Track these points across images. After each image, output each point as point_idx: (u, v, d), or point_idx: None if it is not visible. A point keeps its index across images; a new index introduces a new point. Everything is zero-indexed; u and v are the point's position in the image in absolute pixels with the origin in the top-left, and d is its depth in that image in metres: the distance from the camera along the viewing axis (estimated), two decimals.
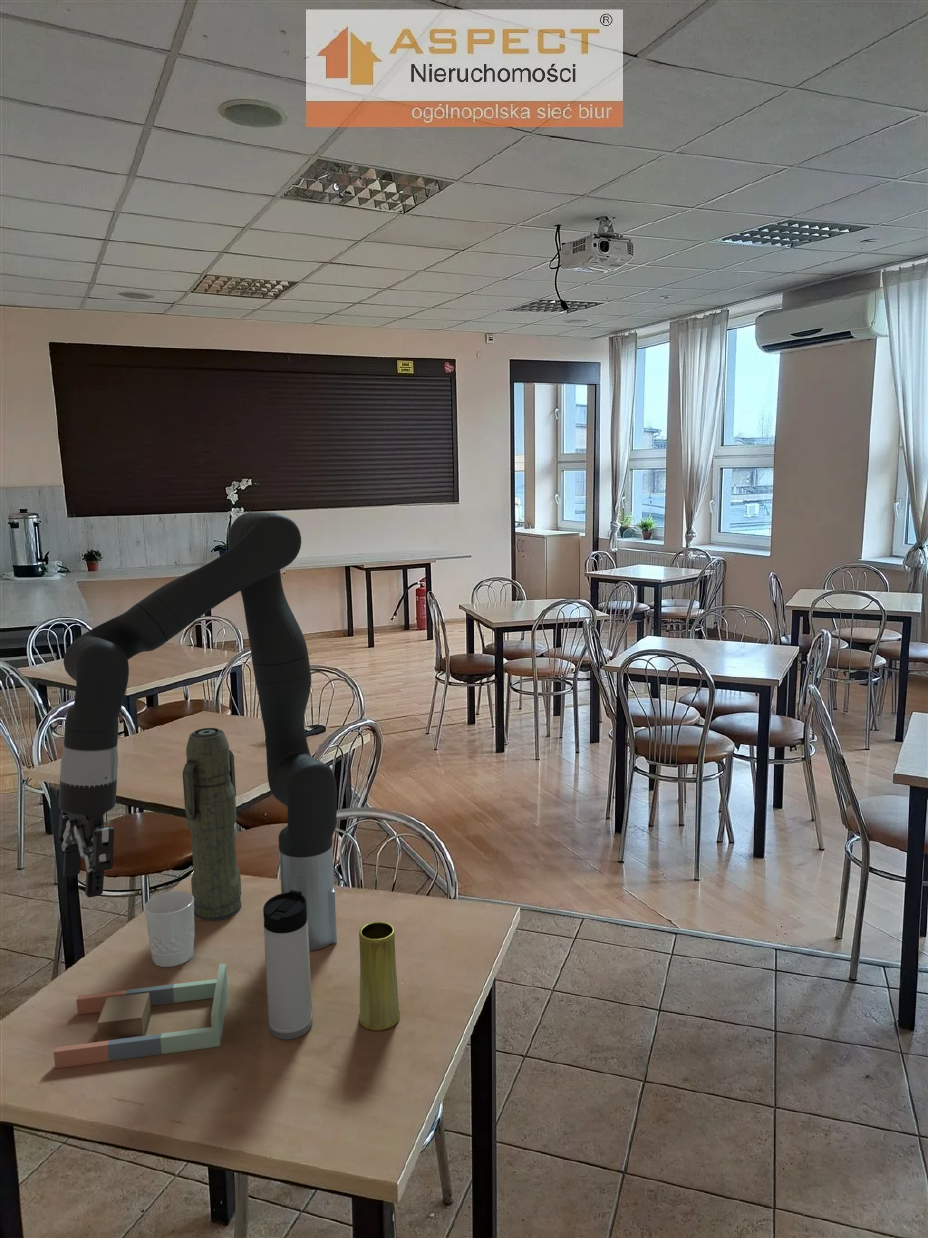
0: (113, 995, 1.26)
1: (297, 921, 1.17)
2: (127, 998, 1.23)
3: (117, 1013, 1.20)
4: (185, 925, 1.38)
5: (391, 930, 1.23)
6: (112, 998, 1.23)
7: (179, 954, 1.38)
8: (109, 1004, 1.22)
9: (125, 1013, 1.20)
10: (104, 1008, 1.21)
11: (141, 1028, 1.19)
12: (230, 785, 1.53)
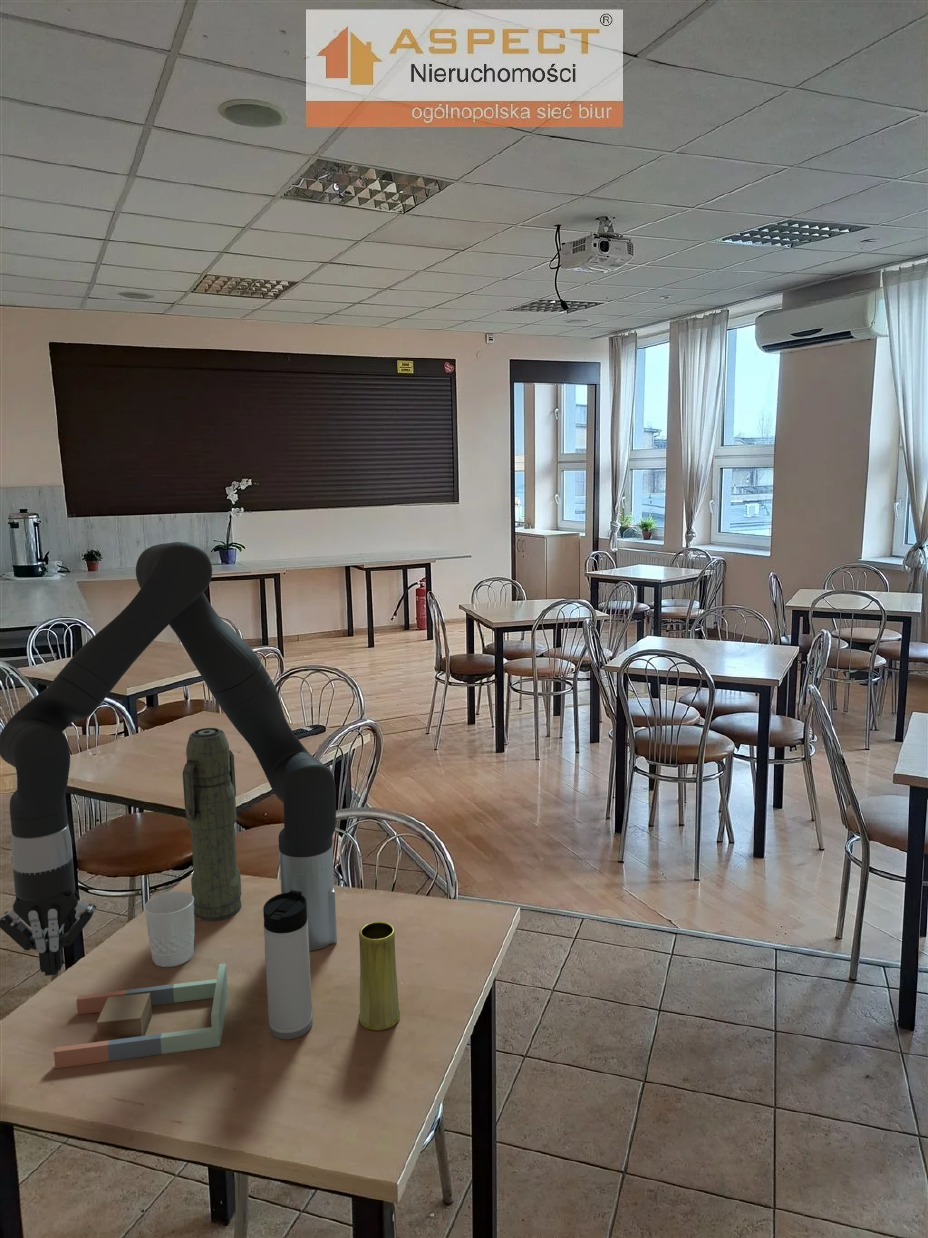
0: (113, 995, 1.26)
1: (297, 921, 1.17)
2: (127, 998, 1.23)
3: (116, 1013, 1.20)
4: (185, 925, 1.38)
5: (391, 930, 1.23)
6: (112, 998, 1.23)
7: (179, 954, 1.38)
8: (109, 1004, 1.22)
9: (125, 1013, 1.20)
10: (104, 1008, 1.21)
11: (140, 1029, 1.19)
12: (230, 785, 1.53)
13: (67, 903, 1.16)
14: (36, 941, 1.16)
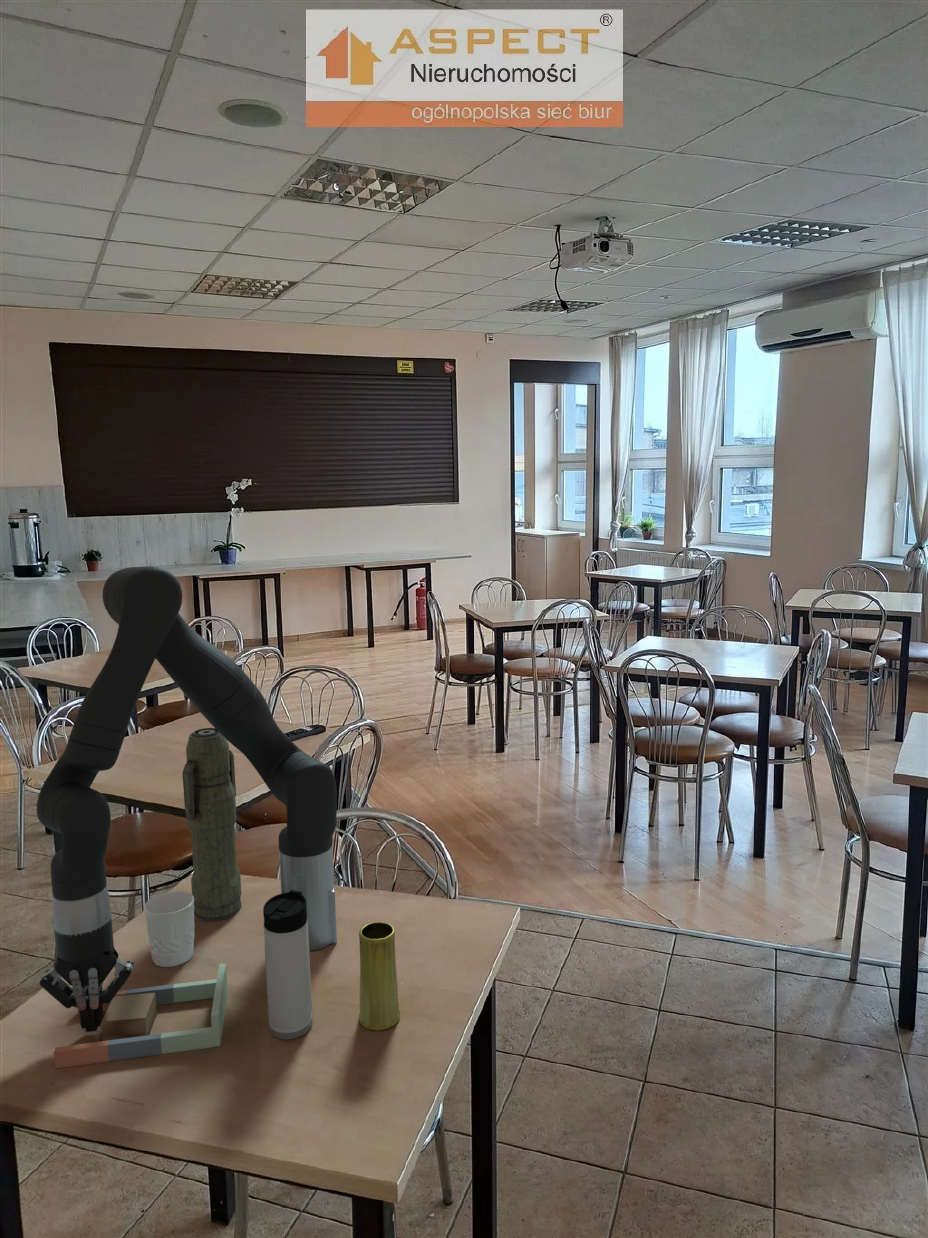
0: None
1: (297, 921, 1.17)
2: (133, 998, 1.23)
3: (121, 1013, 1.20)
4: (185, 925, 1.38)
5: (391, 930, 1.23)
6: (118, 997, 1.24)
7: (179, 954, 1.38)
8: (115, 1003, 1.22)
9: (130, 1012, 1.20)
10: (109, 1007, 1.21)
11: (145, 1028, 1.19)
12: (230, 785, 1.53)
13: (107, 962, 1.19)
14: (77, 999, 1.19)
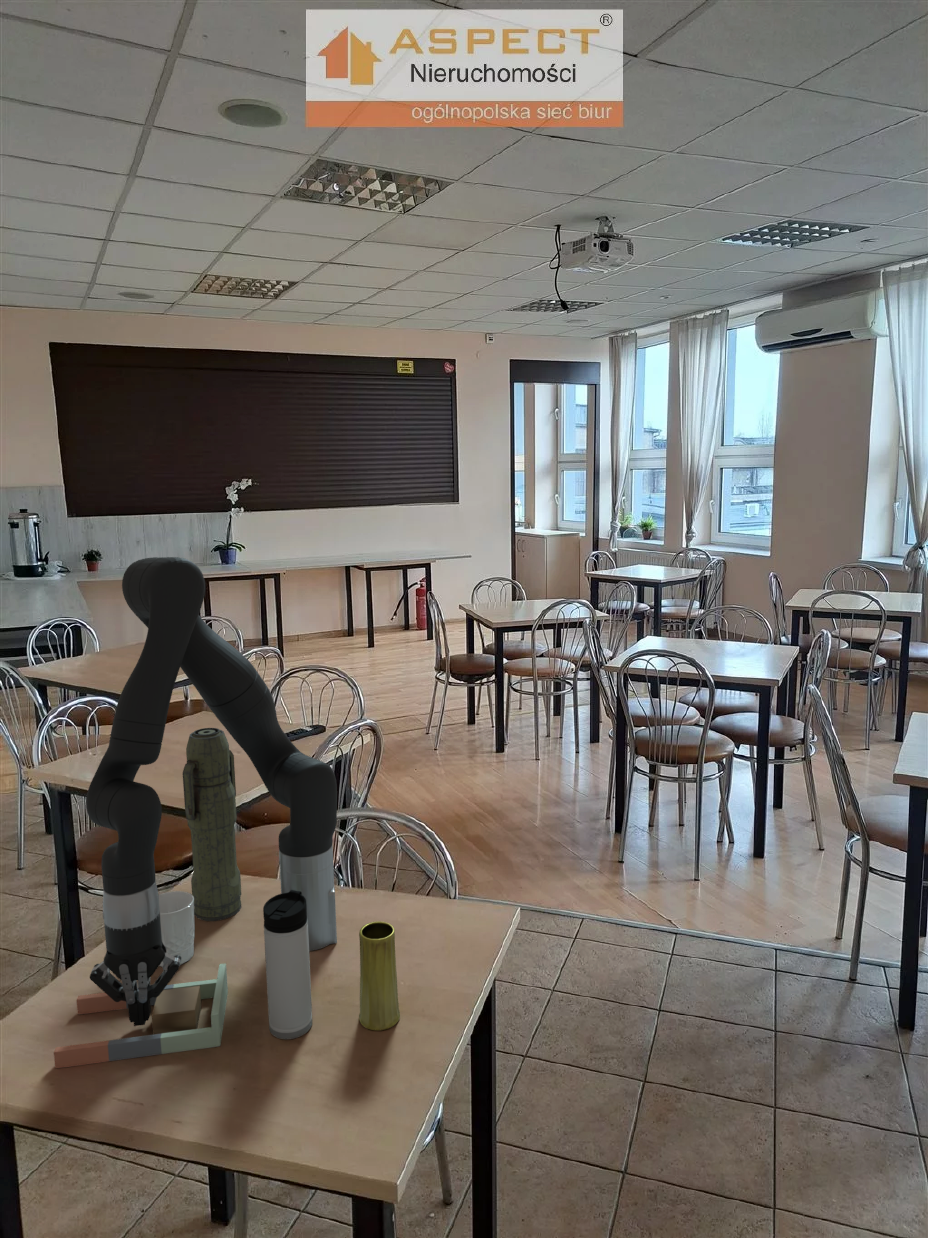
0: None
1: (297, 921, 1.17)
2: (178, 991, 1.25)
3: (170, 1006, 1.21)
4: (185, 925, 1.38)
5: (391, 930, 1.23)
6: (163, 991, 1.25)
7: (179, 954, 1.38)
8: (161, 997, 1.24)
9: (178, 1005, 1.21)
10: (157, 1001, 1.23)
11: (194, 1020, 1.21)
12: (230, 785, 1.53)
13: (155, 956, 1.20)
14: (126, 993, 1.20)
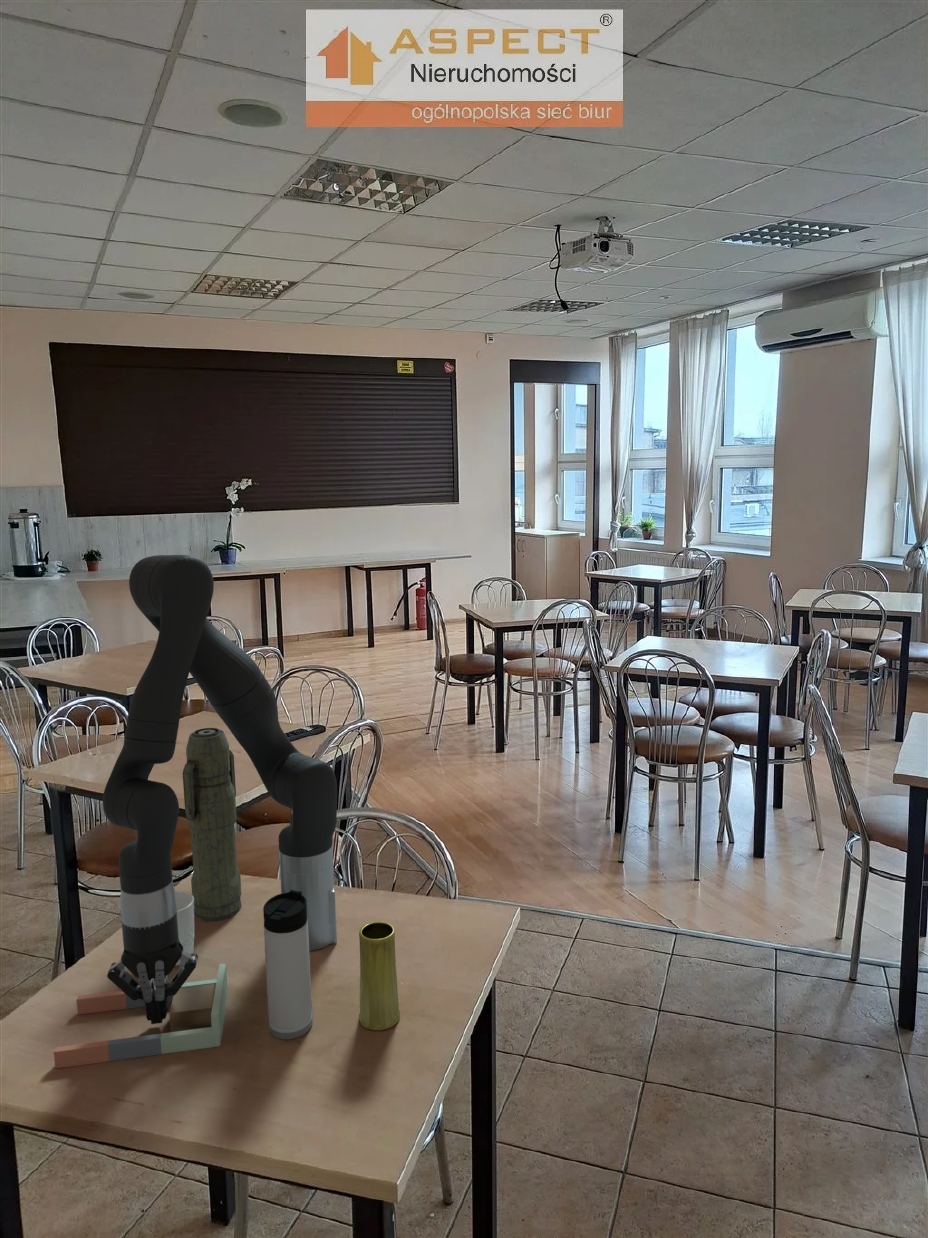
0: (113, 995, 1.26)
1: (297, 921, 1.17)
2: (195, 989, 1.25)
3: (187, 1004, 1.22)
4: (185, 925, 1.38)
5: (391, 930, 1.23)
6: (180, 989, 1.25)
7: None
8: (178, 995, 1.24)
9: (195, 1003, 1.22)
10: (174, 999, 1.23)
11: None
12: (230, 785, 1.53)
13: (172, 954, 1.20)
14: (143, 991, 1.20)
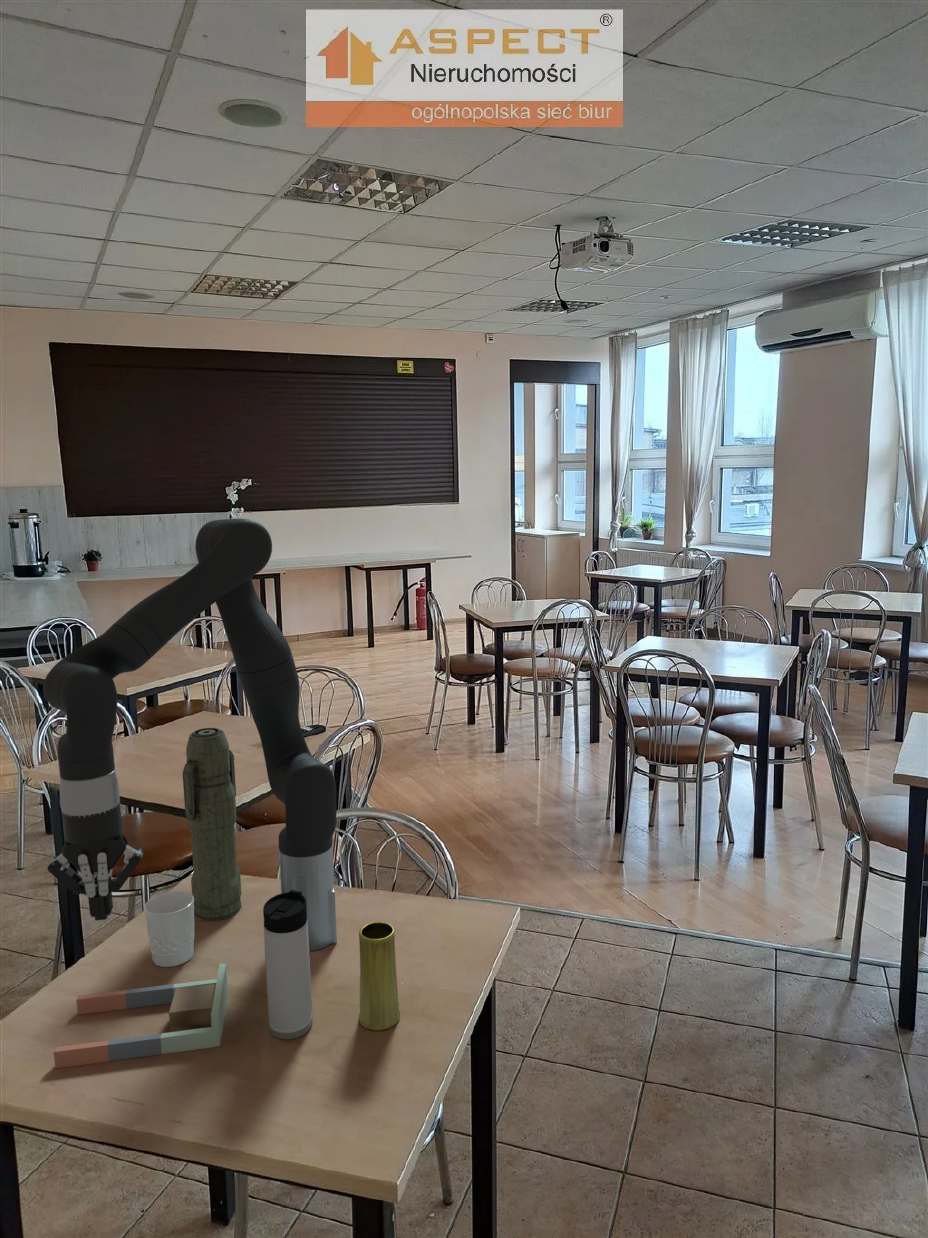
0: (113, 995, 1.26)
1: (297, 921, 1.17)
2: (195, 989, 1.25)
3: (187, 1004, 1.22)
4: (185, 925, 1.38)
5: (391, 930, 1.23)
6: (180, 989, 1.25)
7: (179, 954, 1.38)
8: (178, 994, 1.24)
9: (195, 1003, 1.22)
10: (174, 998, 1.23)
11: None
12: (230, 785, 1.53)
13: (116, 847, 1.16)
14: (86, 885, 1.16)
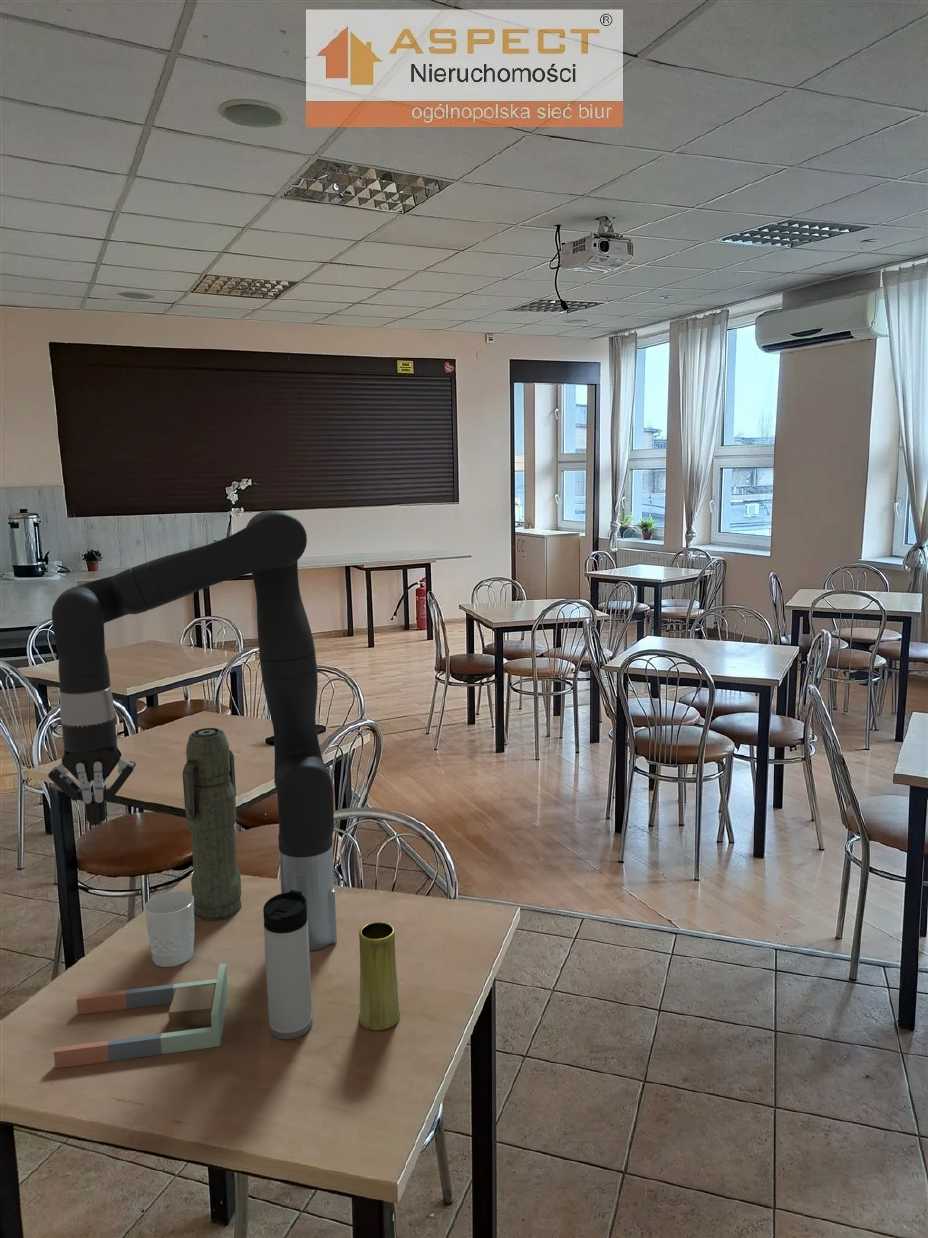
0: (113, 995, 1.26)
1: (297, 921, 1.17)
2: (196, 989, 1.25)
3: (186, 1004, 1.22)
4: (185, 925, 1.38)
5: (391, 930, 1.23)
6: (181, 989, 1.25)
7: (179, 954, 1.38)
8: (179, 994, 1.24)
9: (195, 1003, 1.22)
10: (174, 998, 1.23)
11: (210, 1019, 1.21)
12: (230, 785, 1.53)
13: (110, 758, 1.28)
14: (83, 792, 1.28)
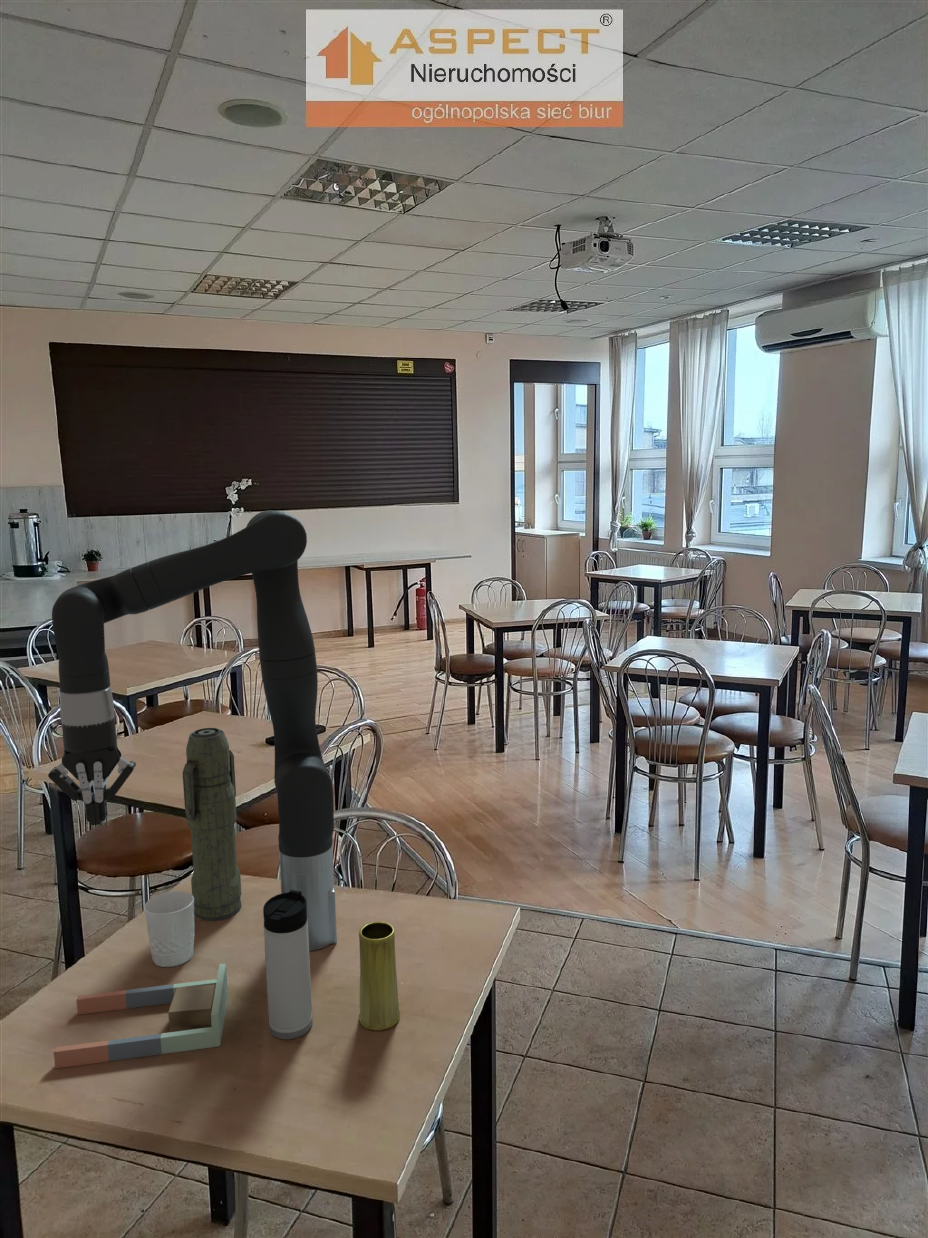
0: (113, 995, 1.26)
1: (297, 921, 1.17)
2: (196, 989, 1.25)
3: (186, 1004, 1.22)
4: (185, 925, 1.38)
5: (391, 930, 1.23)
6: (181, 988, 1.25)
7: (179, 954, 1.38)
8: (179, 994, 1.24)
9: (195, 1003, 1.22)
10: (174, 998, 1.23)
11: (210, 1019, 1.21)
12: (230, 785, 1.53)
13: (110, 757, 1.28)
14: (83, 792, 1.28)
